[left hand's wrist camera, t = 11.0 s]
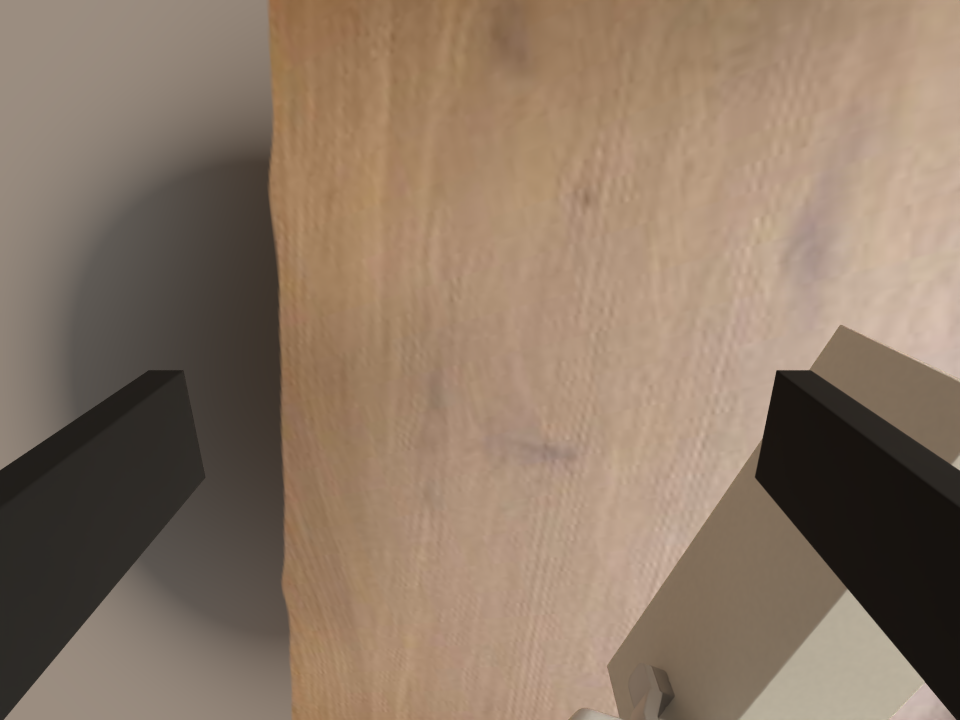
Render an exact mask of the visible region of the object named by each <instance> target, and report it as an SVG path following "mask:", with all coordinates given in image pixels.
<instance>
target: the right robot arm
mask: <svg viewBox="0 0 960 720" xmlns="http://www.w3.org/2000/svg"><path fill="white" fill-rule="evenodd" d="M668 680H669V678H668V675H667V673H666V672H665V671H664V670H662V669H659V668H656V667H653V666H651V665H647V664H645V663H639V664H638V665H637V667H636V668H635V670H634V671H633V673H632V674H631V675H630V677H629V681H628V688H629V692H630V696H631V699H632V703H633V707H634V710H633V712H632V715H631V717H630V720H665V719H662V718H660V719H658V718H659V717H660V715H661V714H662V713H663V711H664V710H665V707H667V706H668V705H669V704H670V702H671V701H672V700H673V698H674V697H675V695H674V692H673V689H672V686H671V683H670V682H669V681H668ZM569 720H624V719H620V718H617V717H614V716H611V715H608V714H605V713H602V712H599V711H595V710H592V709H588V708H582V709H579V710H578V711H577V712H575V713H574V714H573V715H572V716H571V717H570V718H569Z"/></svg>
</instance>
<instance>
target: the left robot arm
mask: <svg viewBox="0 0 960 720" xmlns="http://www.w3.org/2000/svg"><path fill="white" fill-rule="evenodd" d="M204 478H205V474H204V469H203V464H202V459H201V454H200V449H199V444H198V439H197V435H196V430H195V425H194V420H193V415H192V410H191V405H190V400H189V396H188V391H187V386H186V381H185V376H184V371H183V370H149V371H147V372H146V373H144V374H143V375H141V376H140V377H138V378H137V379H135V380H134V381H132V382H131V383H129V384H128V385H126V386H125V387H123V388H122V389H120V390H119V391H118V392H116V393H114V394H113V395H112V396H110V397H109V398H107V399H106V400H104V401H103V402H101V403H100V404H98V405H97V406H95V407H94V408H92V409H91V410H89V411H88V412H86V413H85V414H83V415H82V416H80V417H79V418H77V419H76V420H74V421H73V422H71V423H70V424H68V425H67V426H65V427H64V428H63V429H61V430H59V431H58V432H57V433H55V434H54V435H52V436H51V437H49V438H48V439H46V440H45V441H43V442H42V443H40V444H39V445H37V446H36V447H34V448H33V449H31V450H30V451H28V452H27V453H25V454H24V455H22V456H21V457H19V458H18V459H16V460H15V461H13V462H12V463H10V464H9V465H7V466H6V467H4V468H3V469H2V470H0V720H4V719H5V717H6V716H7V715H8V714H9V713H10V711H11V710H12V709H13V708H14V707H15V705H16V704H17V703H18V702H19V701H20V699H21V698H22V697H23V696H24V695H25V693H26V692H27V691H28V690H29V689H30V687H31V686H32V685H33V684H34V683H35V681H36V680H37V679H38V678H39V677H40V675H41V674H42V673H43V672H44V671H45V669H46V668H47V667H48V666H49V665H50V663H51V662H52V661H53V660H54V659H55V657H56V656H57V655H58V654H59V653H60V651H61V650H62V649H63V648H64V647H65V645H66V644H67V643H68V642H69V641H70V639H71V638H72V637H73V636H74V635H75V633H76V632H77V631H78V630H79V629H80V627H81V626H82V625H83V624H84V623H85V621H86V620H87V619H88V618H89V617H90V615H91V614H92V613H93V612H94V611H95V609H96V608H97V607H98V606H99V605H100V603H101V602H102V601H103V600H104V599H105V597H106V596H107V595H108V594H109V593H110V591H111V590H112V589H113V588H114V586H115V585H116V584H117V583H118V582H119V581H120V579H121V578H122V577H123V576H124V574H125V573H126V572H127V571H128V570H129V569H130V567H131V566H132V565H133V564H134V562H135V561H136V560H137V559H138V558H139V556H140V555H141V554H142V553H143V552H144V551H145V549H146V548H147V547H148V546H149V544H150V543H151V542H152V541H153V540H154V538H155V537H156V536H157V535H158V534H159V532H160V531H161V530H162V529H163V528H164V526H165V525H166V524H167V523H168V522H169V520H170V519H171V518H172V517H173V516H174V514H175V513H176V512H177V511H178V510H179V508H180V507H181V506H182V505H183V504H184V502H185V501H186V500H187V499H188V498H189V496H190V495H191V494H192V493H193V492H194V490H195V489H196V488H197V487H198V486H199V484H200V483H201V482H202V481H203V480H204ZM755 478H756V480H757V481H758V482H759V483H760V484H761V486H762V487H763V488H764V489H765V490H766V492H767V493H768V494H769V495H770V496H771V498H772V499H773V500H774V501H775V502H776V504H777V505H778V506H779V507H780V508H781V510H782V511H783V512H784V513H785V514H786V516H787V517H788V518H789V519H790V520H791V522H792V523H793V524H794V525H795V526H796V528H797V529H798V530H799V531H800V533H801V534H802V535H803V536H804V537H805V539H806V540H807V541H808V542H809V543H810V545H811V546H812V547H813V548H814V549H815V551H816V552H817V553H818V554H819V555H820V557H821V558H822V559H823V560H824V561H825V563H826V564H827V565H828V566H829V567H830V569H831V570H832V571H833V572H834V573H835V575H836V576H837V577H838V578H839V579H840V581H841V582H842V583H843V584H844V585H845V587H846V588H847V589H848V590H849V591H850V593H851V594H852V595H853V596H854V597H855V599H856V600H857V601H858V602H859V603H860V605H861V606H862V607H863V608H864V609H865V611H866V612H867V613H868V614H869V615H870V617H871V618H872V619H873V620H874V621H875V623H876V624H877V625H878V626H879V627H880V629H881V630H882V631H883V632H884V633H885V635H886V636H887V637H888V638H889V639H890V641H891V642H892V643H893V644H894V645H895V647H896V648H897V649H898V650H899V651H900V653H901V654H902V655H903V656H904V657H905V659H906V660H907V661H908V662H909V663H910V665H911V666H912V667H913V668H914V669H915V671H916V672H917V673H918V674H919V675H920V677H921V678H922V679H923V680H924V681H925V683H926V684H927V685H928V686H929V687H930V689H931V690H932V691H933V692H934V693H935V695H936V696H937V697H938V698H939V699H940V701H941V702H942V703H943V704H944V705H945V707H946V708H947V709H948V710H949V711H950V713H951V714H952V715H953V716H954V717H955V719H956V720H960V470H958V469H957V468H956V467H954V466H953V465H951V464H950V463H948V462H947V461H945V460H944V459H942V458H941V457H939V456H938V455H936V454H935V453H933V452H932V451H930V450H929V449H927V448H926V447H924V446H923V445H921V444H920V443H918V442H917V441H915V440H914V439H912V438H911V437H909V436H908V435H906V434H905V433H903V432H902V431H901V430H899V429H898V428H896V427H895V426H893V425H892V424H890V423H889V422H887V421H886V420H884V419H883V418H881V417H880V416H878V415H877V414H875V413H874V412H872V411H871V410H869V409H868V408H866V407H865V406H863V405H862V404H860V403H859V402H857V401H856V400H854V399H853V398H851V397H850V396H848V395H847V394H846V393H844V392H843V391H841V390H840V389H838V388H837V387H835V386H834V385H832V384H831V383H829V382H828V381H826V380H825V379H823V378H822V377H820V376H819V375H817V374H816V373H814V372H813V371H811V370H777V371H776V376H775V381H774V386H773V391H772V395H771V400H770V405H769V410H768V415H767V420H766V425H765V430H764V435H763V439H762V444H761V449H760V454H759V459H758V464H757V469H756V474H755Z"/></svg>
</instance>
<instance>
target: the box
mask: <svg viewBox="0 0 960 720" xmlns="http://www.w3.org/2000/svg"><path fill="white" fill-rule="evenodd" d="M810 370H811V371H813V372H814V373H816V374H817V375H819V376H820V377H822V378H823V379H825V380H826V381H828V382H829V383H831V384H832V385H834V386H835V387H837V388H838V389H840V390H841V391H843V392H844V393H846V394H847V395H848V396H850V397H851V398H853V399H854V400H856V401H857V402H859V403H860V404H862V405H863V406H865V407H866V408H868V409H869V410H871V411H872V412H874V413H875V414H877V415H878V416H880V417H881V418H883V419H884V420H886V421H887V422H889V423H890V424H892V425H893V426H895V427H896V428H898V429H899V430H901V431H902V432H903V433H905V434H906V435H908V436H909V437H911V438H912V439H914V440H915V441H917V442H918V443H920V444H921V445H923V446H924V447H926V448H927V449H929V450H930V451H932V452H933V453H935V454H936V455H938V456H939V457H941V458H942V459H944V460H945V461H947V462H948V463H950V464H951V465H953V466H954V467H956V468H957V469H958V470H960V379H958V378H956V377H954V376H952V375H950V374H948V373H946V372H944V371H941V370H939V369H937V368H935V367H933V366H931V365H928V364H926V363H924V362H922V361H920V360H917V359H915V358H913V357H911V356H909V355H906V354H904V353H902V352H900V351H898V350H895V349H893V348H891V347H889V346H887V345H884V344H882V343H880V342H878V341H876V340H874V339H871V338H869V337H867V336H865V335H863V334H860V333H858V332H856V331H854V330H852V329H849V328H847V327H845V326H843V325H840V326H839V327H838V329H837V330H836V332H835V333H834V335H833V336H832V338H831V339H830V341H829V342H828V344H827V345H826V346H825V348H824V349H823V351H822V352H821V354H820V355H819V357H818V358H817V360H816V361H815V363H814V364H813V365H812V367H811V368H810ZM761 444H762V440H761V442H760V443H759V444H758V446H757V447H756V449H755V450H754V452H753V453H752V455H751V456H750V458H749V459H748V461H747V462H746V463H745V465H744V466H743V468H742V469H741V471H740V472H739V474H738V475H737V477H736V478H735V480H734V481H733V482H732V484H731V485H730V487H729V488H728V490H727V491H726V493H725V494H724V496H723V497H722V499H721V500H720V501H719V503H718V504H717V506H716V507H715V509H714V510H713V512H712V513H711V515H710V516H709V518H708V519H707V520H706V522H705V523H704V525H703V526H702V528H701V529H700V531H699V532H698V534H697V535H696V537H695V538H694V539H693V541H692V542H691V544H690V545H689V547H688V548H687V550H686V551H685V553H684V554H683V556H682V557H681V559H680V560H679V561H678V563H677V564H676V566H675V567H674V569H673V570H672V572H671V573H670V575H669V576H668V578H667V579H666V580H665V582H664V583H663V585H662V586H661V588H660V589H659V591H658V592H657V594H656V595H655V597H654V598H653V599H652V601H651V602H650V604H649V605H648V607H647V608H646V610H645V611H644V613H643V614H642V616H641V617H640V618H639V620H638V621H637V623H636V624H635V626H634V627H633V629H632V630H631V632H630V633H629V635H628V636H627V637H626V639H625V640H624V642H623V643H622V645H621V646H620V648H619V649H618V651H617V652H616V654H615V655H614V656H613V658H612V659H611V661H610V662H609V664H608V665H607V668H608V672H609V676H610V680H611V684H612V688H613V692H614V696H615V700H616V704H617V709H618V713H619V717H620V719H624V720H630V717H631V715H632V712H633V710H634V707H633V703H632V699H631V696H630V692H629V688H628V681H629V677H630V675H631V674H632V673H633V671H634V670H635V668H636V667H637V665H638V664H639V663H645V664H647V665H651V666H653V667H656V668H659V669H662V670H664V671H665V672H666V673H667V675H668V678H669V680H668V681H669V682H670V683H671V686H672V689H673V692H674V695H675V697H674V698H673V700H672V701H671V702H670V704H669V705H668V706H667V707H665V710H664V711H663V713H662V714H661V715H660V717H659V718H658V719H660V718H662V719H665V720H889V719H890V718H891V717H892V716H893V715H894V714H895V713H896V712H897V711H898V710H899V709H900V708H901V707H902V706H903V705H904V704H905V703H906V702H907V701H908V700H909V699H910V697H911V696H912V695H913V694H914V693H915V692H916V691H917V690H918V689H919V688H920V687H921V686H922V685H923V684H924V683H925V681H924V680H923V679H922V678H921V677H920V675H919V674H918V673H917V672H916V671H915V669H914V668H913V667H912V666H911V665H910V663H909V662H908V661H907V660H906V659H905V657H904V656H903V655H902V654H901V653H900V651H899V650H898V649H897V648H896V647H895V645H894V644H893V643H892V642H891V641H890V639H889V638H888V637H887V636H886V635H885V633H884V632H883V631H882V630H881V629H880V627H879V626H878V625H877V624H876V623H875V621H874V620H873V619H872V618H871V617H870V615H869V614H868V613H867V612H866V611H865V609H864V608H863V607H862V606H861V605H860V603H859V602H858V601H857V600H856V599H855V597H854V596H853V595H852V594H851V593H850V591H849V590H848V589H847V588H846V587H845V585H844V584H843V583H842V582H841V581H840V579H839V578H838V577H837V576H836V575H835V573H834V572H833V571H832V570H831V569H830V567H829V566H828V565H827V564H826V563H825V561H824V560H823V559H822V558H821V557H820V555H819V554H818V553H817V552H816V551H815V549H814V548H813V547H812V546H811V545H810V543H809V542H808V541H807V540H806V539H805V537H804V536H803V535H802V534H801V533H800V531H799V530H798V529H797V528H796V526H795V525H794V524H793V523H792V522H791V520H790V519H789V518H788V517H787V516H786V514H785V513H784V512H783V511H782V510H781V508H780V507H779V506H778V505H777V504H776V502H775V501H774V500H773V499H772V498H771V496H770V495H769V494H768V493H767V492H766V490H765V489H764V488H763V487H762V486H761V484H760V483H759V482H758V481H757V480H756V478H755V474H756V469H757V464H758V459H759V454H760V449H761Z"/></svg>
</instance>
